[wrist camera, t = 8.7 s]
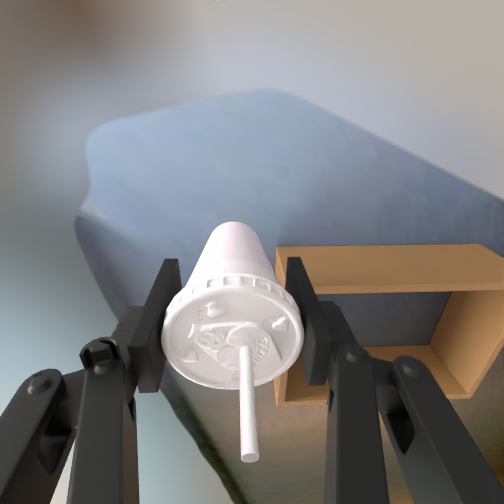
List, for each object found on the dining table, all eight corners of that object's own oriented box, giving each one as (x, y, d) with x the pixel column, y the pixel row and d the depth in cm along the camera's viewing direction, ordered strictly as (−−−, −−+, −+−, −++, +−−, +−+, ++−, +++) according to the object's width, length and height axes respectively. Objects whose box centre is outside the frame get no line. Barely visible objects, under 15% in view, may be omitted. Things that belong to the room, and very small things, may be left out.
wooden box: (276, 246, 28) (287, 287, 22) (479, 243, 30) (543, 281, 23) (269, 354, 36) (277, 407, 30) (432, 348, 37) (471, 398, 31)
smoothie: (253, 290, 23) (276, 511, 11) (178, 263, 21) (101, 487, 9) (292, 224, 20) (381, 417, 8) (209, 188, 19) (161, 359, 6)
